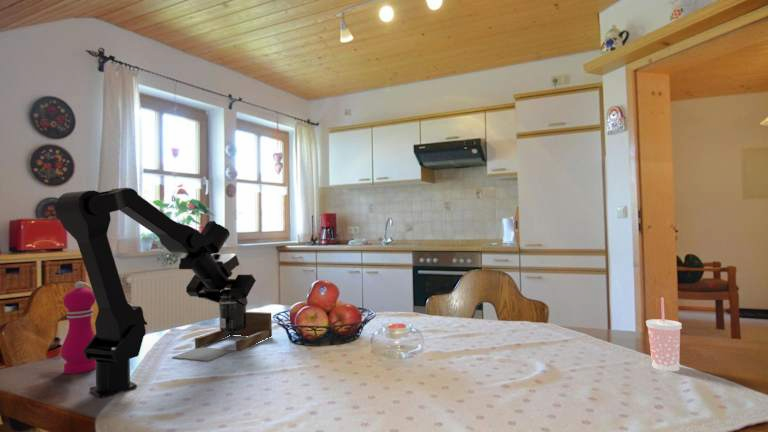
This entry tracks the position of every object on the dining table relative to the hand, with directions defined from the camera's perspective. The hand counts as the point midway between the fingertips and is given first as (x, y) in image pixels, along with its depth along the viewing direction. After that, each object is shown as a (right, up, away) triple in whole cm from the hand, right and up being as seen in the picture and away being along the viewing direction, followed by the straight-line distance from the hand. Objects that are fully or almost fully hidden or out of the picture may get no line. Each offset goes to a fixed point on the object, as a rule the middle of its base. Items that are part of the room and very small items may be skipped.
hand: (235, 304), depth 120 cm
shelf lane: (0, -10, -1) cm, 10 cm away
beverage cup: (+97, -6, -32) cm, 103 cm away
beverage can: (0, -7, -1) cm, 7 cm away
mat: (-4, -10, -12) cm, 16 cm away
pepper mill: (-28, -11, -20) cm, 37 cm away
